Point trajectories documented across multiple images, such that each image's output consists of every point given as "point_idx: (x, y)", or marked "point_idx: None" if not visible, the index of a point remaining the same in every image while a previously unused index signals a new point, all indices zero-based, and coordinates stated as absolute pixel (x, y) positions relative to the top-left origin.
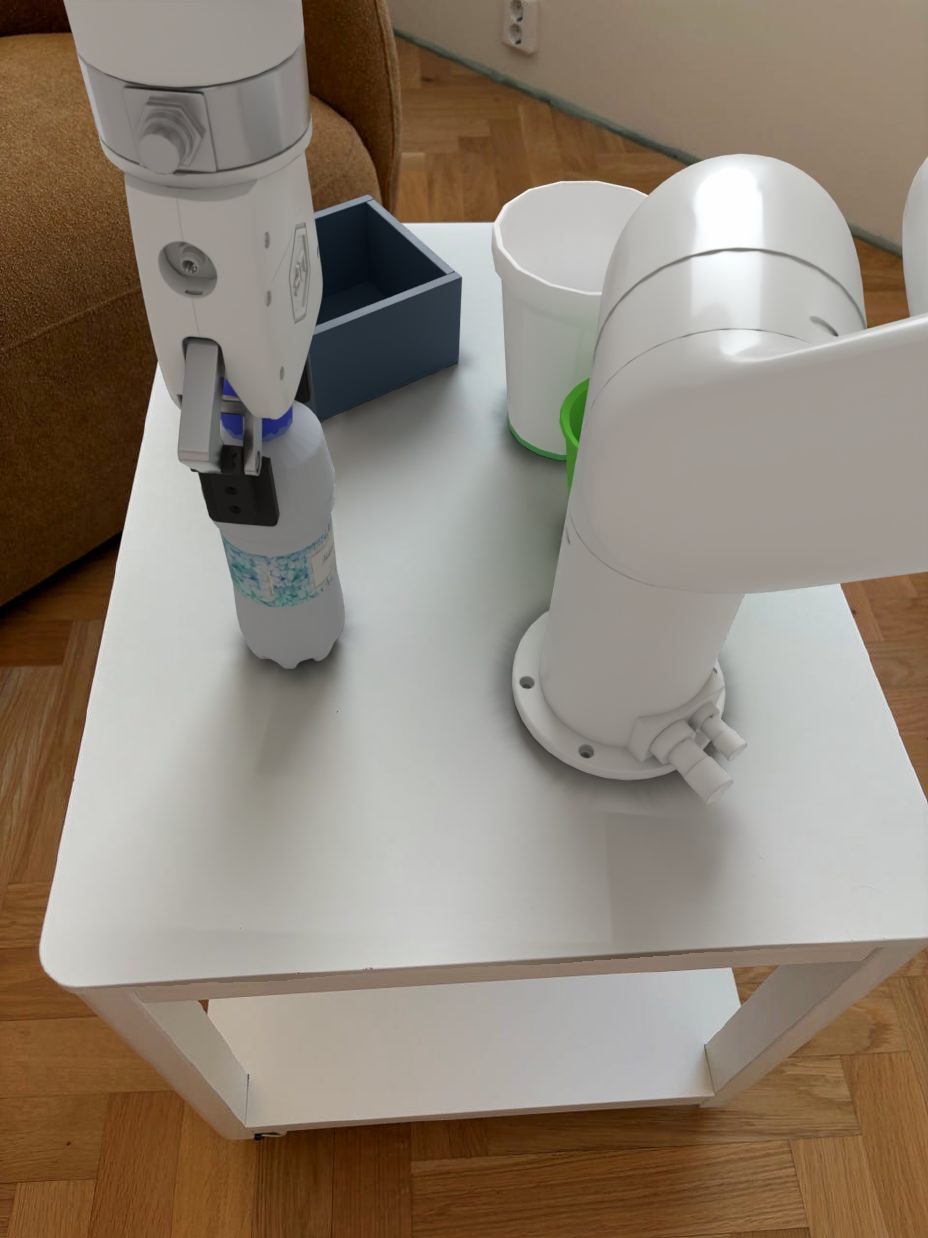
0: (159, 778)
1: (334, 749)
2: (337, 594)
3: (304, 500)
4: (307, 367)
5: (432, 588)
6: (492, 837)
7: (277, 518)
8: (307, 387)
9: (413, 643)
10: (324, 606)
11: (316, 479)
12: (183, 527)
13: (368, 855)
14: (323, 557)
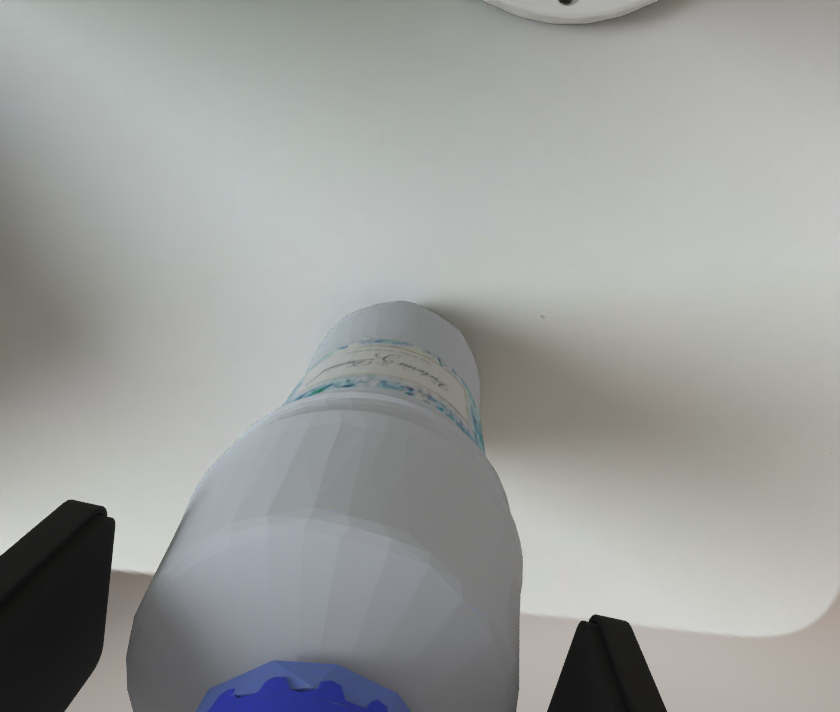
0: (602, 542)
1: (605, 325)
2: (418, 329)
3: (490, 520)
4: (4, 579)
5: (322, 140)
6: (805, 104)
7: (628, 632)
8: (71, 537)
9: (433, 187)
10: (453, 356)
11: (447, 502)
12: (182, 516)
13: (780, 291)
14: (443, 388)
